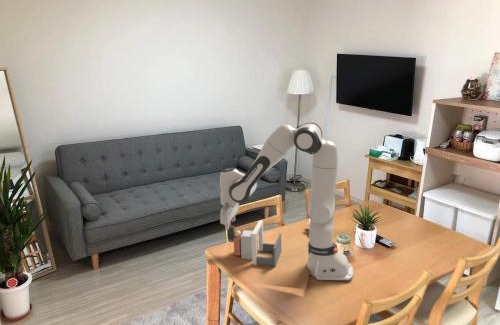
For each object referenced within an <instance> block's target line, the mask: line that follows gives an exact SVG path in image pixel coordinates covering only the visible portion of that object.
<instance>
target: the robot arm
mask: <svg viewBox="0 0 500 325" xmlns="http://www.w3.org/2000/svg"><path fill="white" fill-rule="evenodd" d="M294 147H295V148H297V149H298V151H301V152H303V153H307V154H308V155H312V166H311V167H312V168H311V178H310V179H311V182H310V188H309V196H308V207H307V213H308V217H309V219H310V222H309V223H310V227H309V226H308V228H309V229H308V230H309V232H308V234H309V239H308V240H309V241H308V242H307V244H308V245H307V253H308V257H307V262H306V267H307V268H308V270H309V275H311V276H312V277H314V279H316V280H317V281H350V280H351V279H352V278H353V276H354V267H353V266H352V264H351V263H349V261H348V258H347V256H346V255H345V254H343V253H342V252H340V251H339V249H338V244H337V242H335V243H334V221H335V202H336V201H335V200H336V198H335V195H336V185H337V176H338V167H339V166H338V164H339V163H338V161H339V156H338V146H337V145H336V143H334V142H333V141H331V140H325V139H324V138H323V131H322V128H321V127H320V126H319V124H317V123H316V122H306V123H303V124H301V125H298V126H296V128H294V127H293V126H291V125H290V124H287V123H286V124H285V123H284V124H280V125H279V127H277V128H276V129H274V131H273V132H272V133H271V134H270V135H269V137H268V138H267V139H266V141H265V142H264V144H263V145H262V147H261V149H260V151H259V153H258V154H257V156H256V158H255V160H254V162H253V163H252V165H251V166H250V168H249V169H248V170H247V171H246V173H244V172H241V171H239V170H238V169H237V168H235V167H227V168H225V169H223V170H221V171H220V175H219V188H220V195H219V196H220V197H219V198H220V204H221V205H222V208H221V209H220V212H219V214H220V216H219V218H220V220H219V222H220V224H221V225H224V227H225V228H224V229H225V230H226V231H227V230H229V225H230V222H232V223H234V222H235V221H236V216H237V215H236V214H237V212H238V211H239V208H240V204H244V203H246V202H247V201H248V200H249V198H250V197H251V196H252V195H253V194H254V192H255V191H256V189H257V187H258V183H257V182H258V181H259V180H260V178H261V177H262V176H264V174H265V173H266V172H268V171H269V170H270V169H271V168H273V167H274V166H275V165H277V163H279V162H281V161H282V159H284V157H285V156H286V155H287V154H288V153H289V151H291V149H292V148H294Z"/></svg>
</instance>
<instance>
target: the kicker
mask: <svg viewBox="0 0 500 325" xmlns="http://www.w3.org/2000/svg"><path fill="white" fill-rule="evenodd" d="M226 232H227V242H228V243H230V242H231V243H233V254H234V256H241V235H242V233H241V231H240V230H237V229H235V225H232V224H229V230H226Z"/></svg>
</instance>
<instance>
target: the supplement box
mask: <svg viewBox="0 0 500 325" xmlns="http://www.w3.org/2000/svg"><path fill="white" fill-rule="evenodd" d="M252 232H253V230H242V233H241V255H240V256H241V257H240V258H241V259H243V260H252ZM258 253H259V242H257V254H258Z"/></svg>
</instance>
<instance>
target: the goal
mask: <svg viewBox="0 0 500 325" xmlns="http://www.w3.org/2000/svg"><path fill="white" fill-rule="evenodd" d="M252 231H253V232H252V265H254V266H257V265H258V266H268V267H273V268H276V267H277V264H278V261H279V259H280V256H281V254H282V233H278V236H277V238H276V240H275V243H267V242H264V220H258V221H257V224H256V225H255V227H254V229H253V230H252ZM257 243H258V252H270V253H271V252H273V253H272V255H273V256H272V257H269V256H260V255H258V253H257Z"/></svg>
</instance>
